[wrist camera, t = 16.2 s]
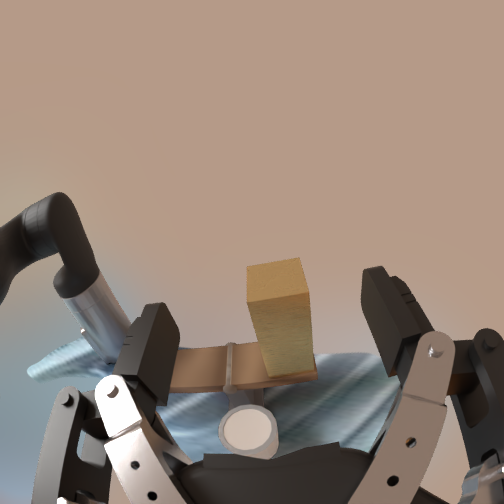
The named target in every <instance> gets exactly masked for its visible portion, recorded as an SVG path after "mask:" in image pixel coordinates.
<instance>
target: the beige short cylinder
mask: <svg viewBox="0 0 504 504" xmlns="http://www.w3.org/2000/svg"><path fill="white" fill-rule="evenodd" d="M218 433H219V439H220V441H221V442H222V444H223V446H224V447H226V448H227V449H228V450H229V451H231V452H232V453H234V454H239V455H244V456H249V457H255V458H261V459H270V458H272V457H273V456H274V454H275V453H276V452H277V449H278V446H279V441H278V430H277V423H276V419H275V418H274V416H273V415H272V413H271V412H270V411H268V410H267V409H265V408H264V407H262V406H258V405H252V404H249V405H241V406H238V407H236V408H234V409H232V410H230V411H229V412H228V413H227V414H226V415H225V416H224V417H223V418H222V420H221V422H220V424H219V427H218Z"/></svg>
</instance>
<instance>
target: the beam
mask: <svg viewBox="0 0 504 504" xmlns="http://www.w3.org/2000/svg"><path fill="white" fill-rule="evenodd" d="M313 361H314V372H308V373H302V374H296V375H290V376H284V377H277V378H269V376H268V373H267V370H266V366H265V363H264V360H263V356H262V353H261V350H260V346H259V343H258V342H253V343H246V344H236V343H228V344H226V346H218V347H208V348H196V349H183V350H178V351H177V356H176V361H175V365H174V370H173V375H172V380H171V385H170V390H169V393H204V392H224V393H227V394H234V393H236V392H237V390H248V389H258V388H266V387H274V386H282V385H288V384H295V383H301V382H307V381H312V380H318V375H317V368H316V363H315V358H314V354H313Z"/></svg>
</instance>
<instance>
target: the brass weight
mask: <svg viewBox="0 0 504 504" xmlns="http://www.w3.org/2000/svg"><path fill="white" fill-rule="evenodd" d="M247 305H248V308H249V312H250V315H251V319H252V322H253V326H254V329H255V333H256V336H257V339H258V343H259V346H260V350H261V353H262V356H263V360H264V363H265V366H266V370H267V373H268V376H269V378H277V377H284V376H290V375H296V374H302V373H308V372H314V361H313V341H312V325H311V311H310V298H309V290H308V286H307V283H306V279H305V276H304V272H303V269H302V265H301V262H300V258H294V259H289V260H282V261H277V262H271V263H265V264H260V265H253V266H248V267H247Z"/></svg>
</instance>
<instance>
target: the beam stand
mask: <svg viewBox="0 0 504 504" xmlns="http://www.w3.org/2000/svg"><path fill="white" fill-rule="evenodd" d="M226 395H227V396H228V398H229V411H230V410H232V409H234V408H236V407H238V406H241V405H249V404H252V405H258V406H262V407H264V390H263V388H258V389H248V390H237V392H236V393H234V394H227V393H226Z"/></svg>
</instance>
